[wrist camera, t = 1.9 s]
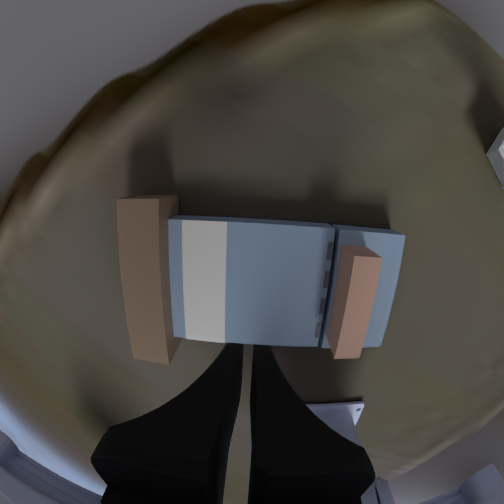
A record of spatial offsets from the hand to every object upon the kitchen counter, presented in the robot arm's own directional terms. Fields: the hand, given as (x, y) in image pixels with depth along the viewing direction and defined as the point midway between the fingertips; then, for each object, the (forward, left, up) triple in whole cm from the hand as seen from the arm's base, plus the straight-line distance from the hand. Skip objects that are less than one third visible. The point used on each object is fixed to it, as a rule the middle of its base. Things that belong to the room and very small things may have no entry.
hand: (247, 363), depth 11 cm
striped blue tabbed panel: (0, +2, -10) cm, 11 cm away
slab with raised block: (0, -8, -10) cm, 13 cm away
